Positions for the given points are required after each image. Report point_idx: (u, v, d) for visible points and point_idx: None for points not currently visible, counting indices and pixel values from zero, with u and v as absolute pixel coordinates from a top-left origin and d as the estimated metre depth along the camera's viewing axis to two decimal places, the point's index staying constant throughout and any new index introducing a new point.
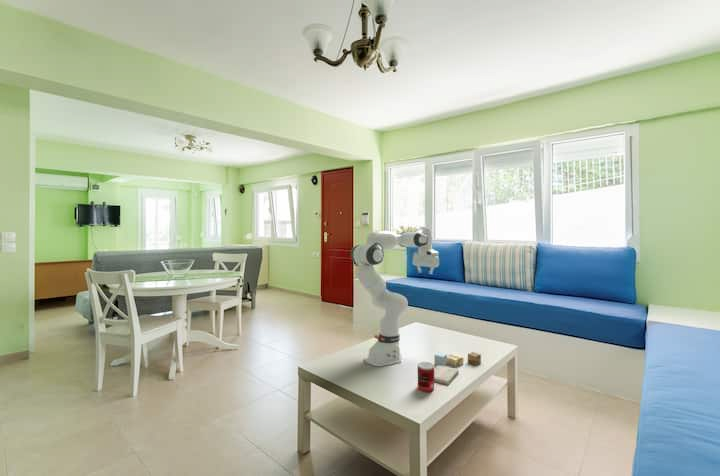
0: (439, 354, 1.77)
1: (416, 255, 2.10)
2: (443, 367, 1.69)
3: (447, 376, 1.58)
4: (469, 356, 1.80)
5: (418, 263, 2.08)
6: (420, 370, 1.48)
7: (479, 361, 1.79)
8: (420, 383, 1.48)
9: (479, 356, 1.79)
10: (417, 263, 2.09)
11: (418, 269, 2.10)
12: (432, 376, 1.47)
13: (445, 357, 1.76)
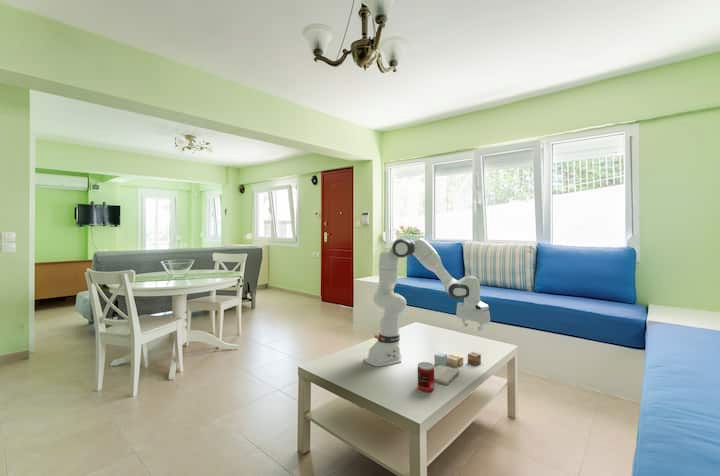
0: (439, 354, 1.77)
1: (461, 307, 1.85)
2: (444, 367, 1.69)
3: (446, 377, 1.57)
4: (469, 356, 1.80)
5: (464, 316, 1.84)
6: (420, 370, 1.48)
7: (479, 361, 1.79)
8: (420, 383, 1.48)
9: (479, 356, 1.79)
10: (462, 316, 1.85)
11: None
12: (432, 376, 1.47)
13: (445, 357, 1.76)
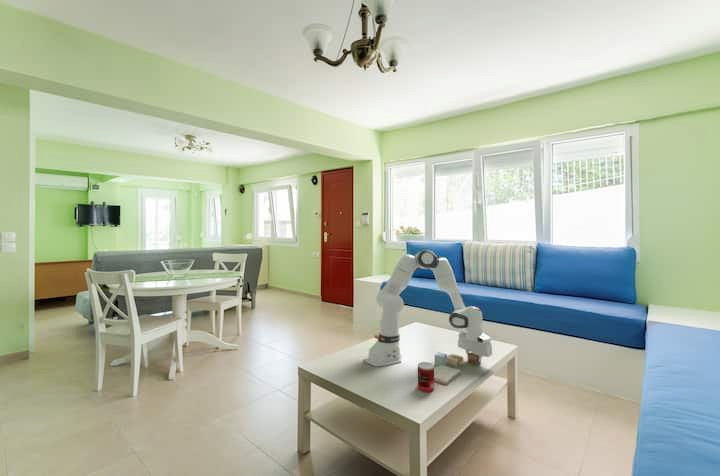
0: (439, 354, 1.77)
1: (463, 337, 1.84)
2: (445, 367, 1.69)
3: (446, 377, 1.57)
4: (469, 356, 1.80)
5: (465, 347, 1.83)
6: (420, 370, 1.48)
7: None
8: (420, 383, 1.48)
9: (479, 356, 1.79)
10: (464, 347, 1.84)
11: (467, 354, 1.83)
12: (432, 376, 1.47)
13: (445, 357, 1.76)
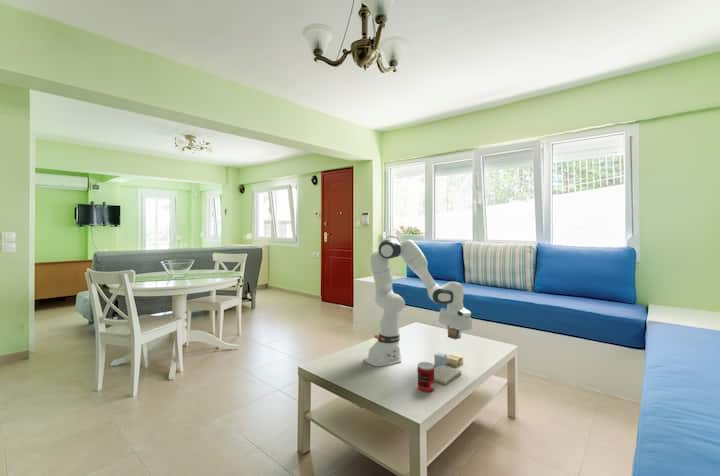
0: (439, 354, 1.77)
1: (444, 312, 1.84)
2: (446, 367, 1.69)
3: (446, 377, 1.57)
4: (449, 330, 1.80)
5: (446, 322, 1.82)
6: (420, 370, 1.48)
7: None
8: (420, 383, 1.48)
9: None
10: (445, 322, 1.83)
11: None
12: (432, 376, 1.47)
13: (445, 357, 1.76)
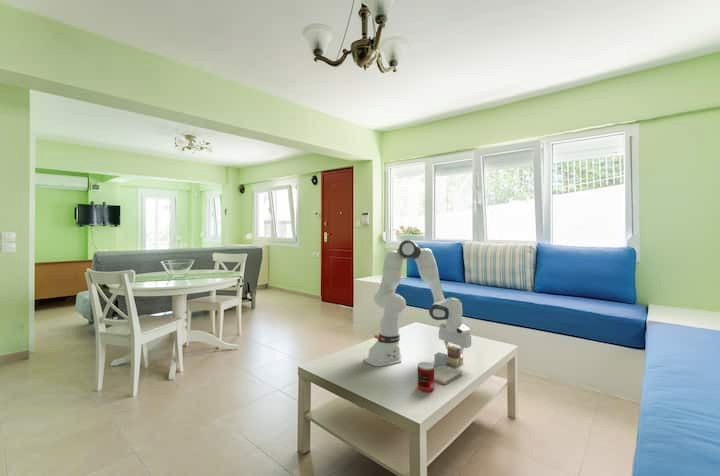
0: (439, 354, 1.77)
1: (443, 329, 1.84)
2: (447, 368, 1.69)
3: (445, 377, 1.57)
4: (449, 350, 1.79)
5: (446, 339, 1.82)
6: (420, 370, 1.48)
7: (459, 355, 1.78)
8: (420, 383, 1.48)
9: None
10: (444, 338, 1.83)
11: (446, 345, 1.83)
12: (432, 376, 1.47)
13: (445, 357, 1.76)
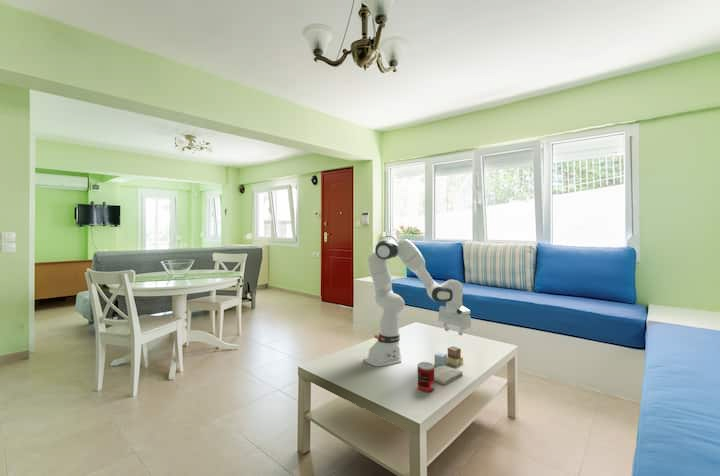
0: (439, 354, 1.77)
1: (443, 311, 1.84)
2: (447, 368, 1.68)
3: (445, 377, 1.57)
4: (449, 350, 1.79)
5: (445, 320, 1.82)
6: (420, 370, 1.48)
7: (459, 355, 1.78)
8: (420, 383, 1.48)
9: (459, 350, 1.78)
10: (444, 320, 1.83)
11: (445, 327, 1.83)
12: (432, 376, 1.47)
13: (445, 357, 1.76)
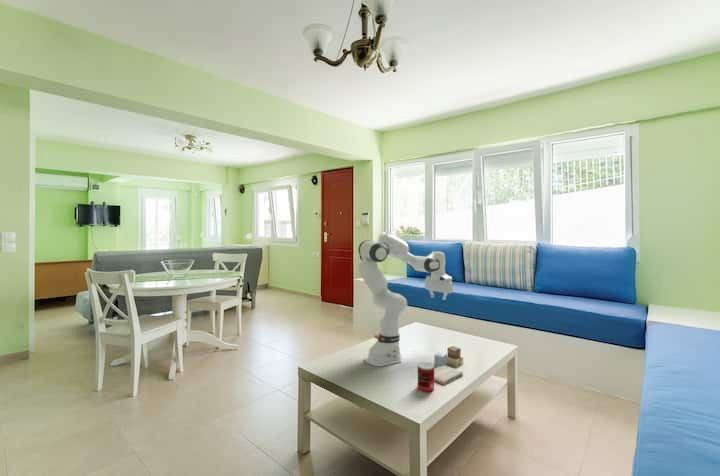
0: (439, 354, 1.77)
1: (429, 279, 2.05)
2: (448, 368, 1.68)
3: (445, 377, 1.57)
4: (449, 350, 1.79)
5: (431, 288, 2.04)
6: (420, 370, 1.48)
7: (459, 355, 1.78)
8: (420, 383, 1.48)
9: (459, 350, 1.78)
10: (430, 288, 2.04)
11: (431, 294, 2.05)
12: (432, 376, 1.47)
13: (445, 357, 1.76)
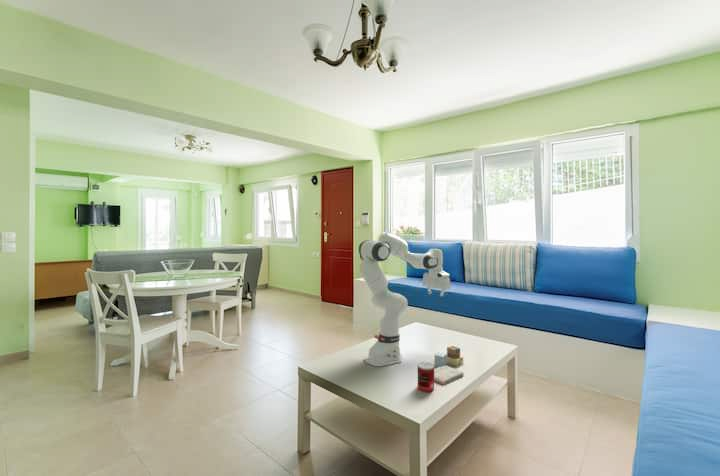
0: (439, 354, 1.77)
1: (426, 276, 2.08)
2: (448, 368, 1.68)
3: (445, 377, 1.57)
4: (448, 350, 1.80)
5: (428, 284, 2.07)
6: (420, 370, 1.48)
7: (458, 355, 1.78)
8: (420, 383, 1.48)
9: (458, 350, 1.78)
10: (427, 284, 2.08)
11: (428, 290, 2.08)
12: (432, 376, 1.47)
13: (445, 357, 1.76)
